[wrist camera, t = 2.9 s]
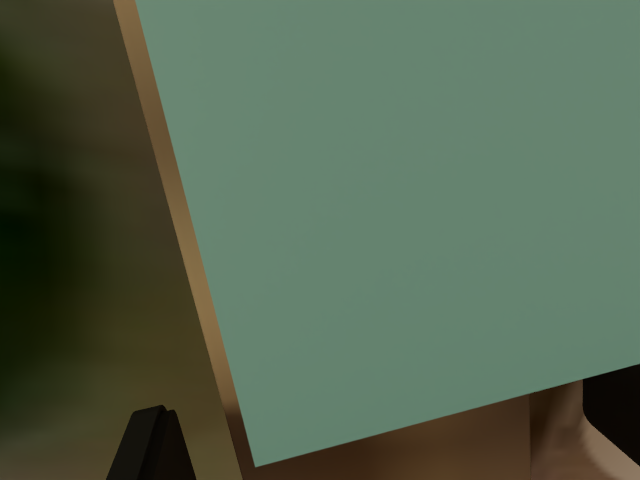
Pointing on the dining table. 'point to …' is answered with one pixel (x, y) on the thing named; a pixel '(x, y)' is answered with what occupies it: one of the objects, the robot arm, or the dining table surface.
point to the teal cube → (406, 200)
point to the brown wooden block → (356, 456)
